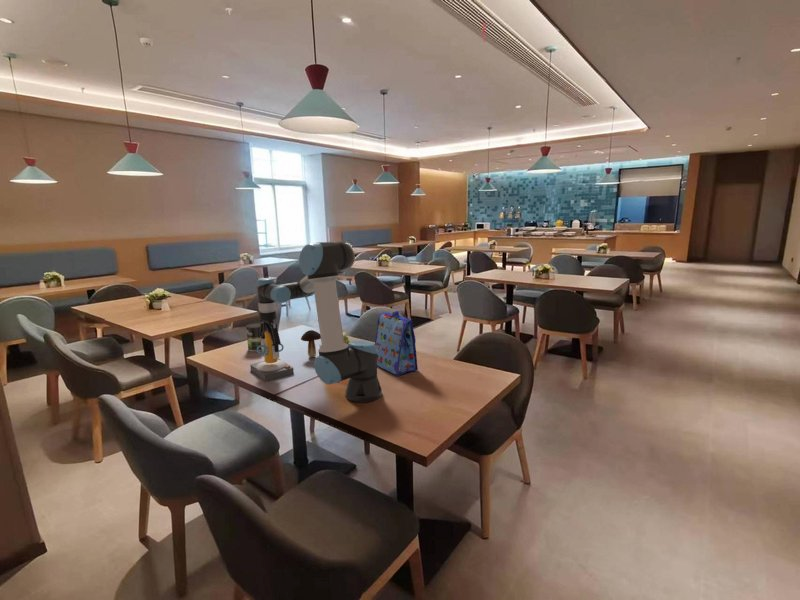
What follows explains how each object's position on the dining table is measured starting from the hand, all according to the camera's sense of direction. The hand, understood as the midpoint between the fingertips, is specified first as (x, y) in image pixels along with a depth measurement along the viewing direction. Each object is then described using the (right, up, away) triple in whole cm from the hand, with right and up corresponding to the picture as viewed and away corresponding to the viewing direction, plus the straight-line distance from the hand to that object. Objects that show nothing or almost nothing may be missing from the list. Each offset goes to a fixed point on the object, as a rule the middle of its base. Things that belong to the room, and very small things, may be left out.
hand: (270, 354), depth 192 cm
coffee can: (-19, -2, +36) cm, 41 cm away
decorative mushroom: (+15, -5, +22) cm, 27 cm away
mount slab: (0, -9, +2) cm, 9 cm away
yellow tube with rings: (0, -4, +1) cm, 4 cm away
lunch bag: (+59, -8, +8) cm, 60 cm away
